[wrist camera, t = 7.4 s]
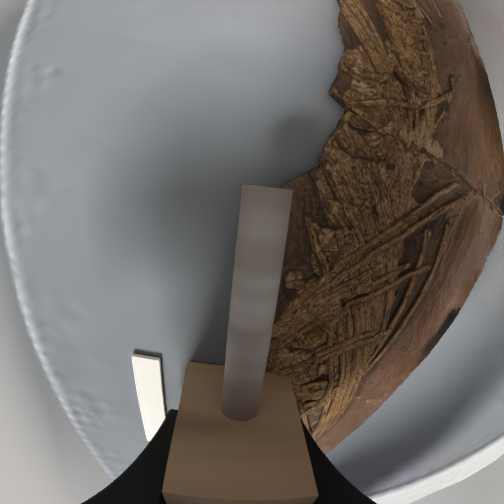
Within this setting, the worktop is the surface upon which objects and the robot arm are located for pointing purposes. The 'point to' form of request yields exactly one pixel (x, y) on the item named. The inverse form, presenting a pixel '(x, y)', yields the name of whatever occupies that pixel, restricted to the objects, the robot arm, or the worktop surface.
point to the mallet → (244, 386)
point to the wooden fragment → (388, 212)
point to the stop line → (149, 392)
